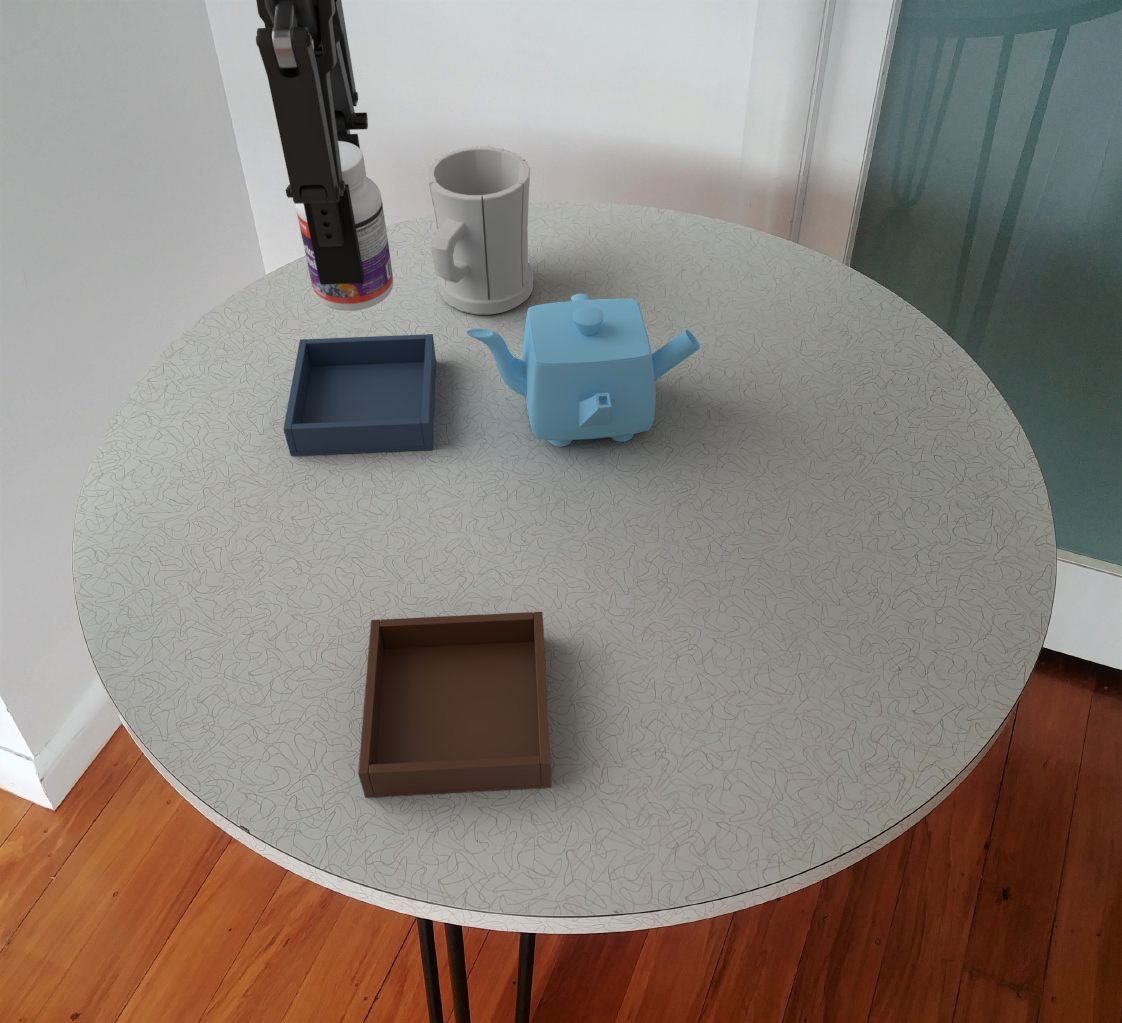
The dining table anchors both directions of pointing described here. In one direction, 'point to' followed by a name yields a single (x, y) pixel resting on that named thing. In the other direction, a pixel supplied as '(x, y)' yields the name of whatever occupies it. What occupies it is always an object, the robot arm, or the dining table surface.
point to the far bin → (362, 395)
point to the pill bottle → (369, 239)
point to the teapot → (587, 368)
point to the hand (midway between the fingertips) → (347, 252)
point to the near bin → (455, 706)
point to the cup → (481, 228)
